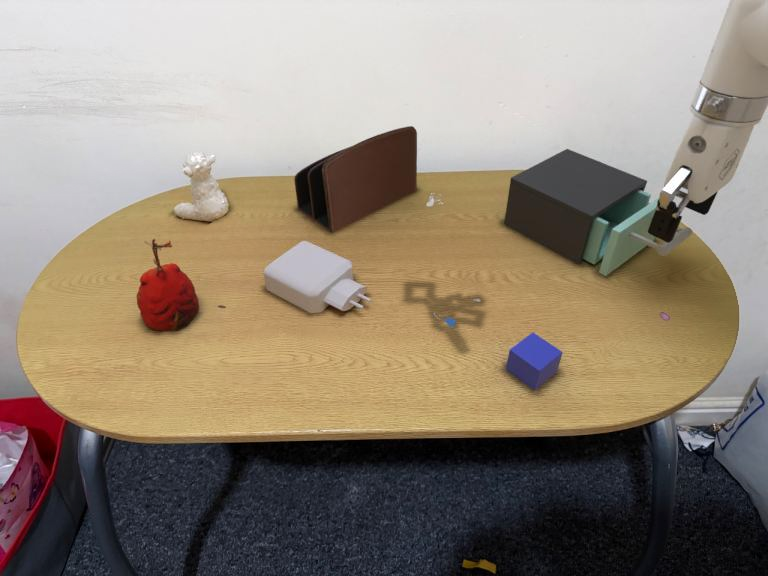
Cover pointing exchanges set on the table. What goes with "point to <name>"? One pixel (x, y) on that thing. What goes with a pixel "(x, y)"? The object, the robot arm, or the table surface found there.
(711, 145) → the robot arm
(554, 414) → the table surface
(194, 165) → the sitting furry creature
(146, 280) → the red lumpy rounded piece
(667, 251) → the mint green drawer
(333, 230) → the letter holder
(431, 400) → the table surface
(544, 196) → the housing
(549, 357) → the cube
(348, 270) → the charger
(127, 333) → the table surface
